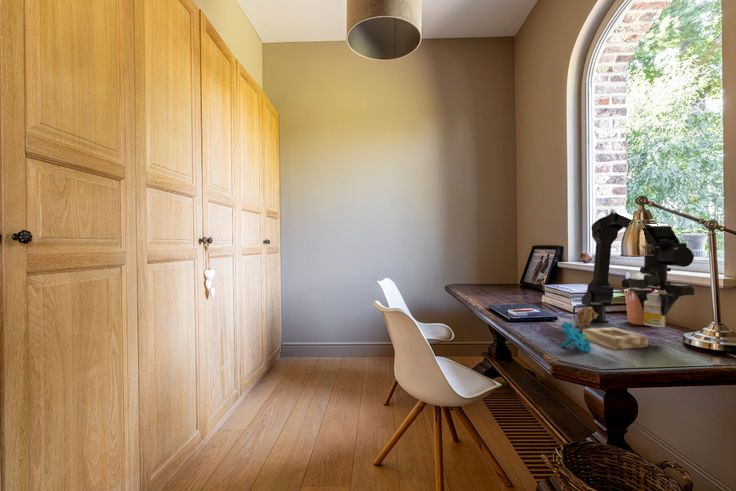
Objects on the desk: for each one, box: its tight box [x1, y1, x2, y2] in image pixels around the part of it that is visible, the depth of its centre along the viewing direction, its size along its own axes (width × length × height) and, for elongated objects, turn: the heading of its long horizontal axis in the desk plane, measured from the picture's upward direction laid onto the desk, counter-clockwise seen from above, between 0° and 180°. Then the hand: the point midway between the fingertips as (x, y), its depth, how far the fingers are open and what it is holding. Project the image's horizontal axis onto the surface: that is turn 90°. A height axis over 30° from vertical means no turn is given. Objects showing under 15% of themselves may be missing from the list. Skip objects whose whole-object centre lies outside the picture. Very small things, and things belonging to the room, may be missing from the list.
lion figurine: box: [574, 306, 598, 332], centre depth 131 cm, size 15×5×9 cm, turn 167°
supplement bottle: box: [643, 293, 667, 328], centre depth 113 cm, size 5×5×10 cm
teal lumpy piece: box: [560, 321, 592, 353], centre depth 107 cm, size 11×6×10 cm
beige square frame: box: [582, 326, 649, 350], centre depth 114 cm, size 12×12×3 cm
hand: (654, 313), depth 113 cm, fingers closed on supplement bottle, 5 cm apart
